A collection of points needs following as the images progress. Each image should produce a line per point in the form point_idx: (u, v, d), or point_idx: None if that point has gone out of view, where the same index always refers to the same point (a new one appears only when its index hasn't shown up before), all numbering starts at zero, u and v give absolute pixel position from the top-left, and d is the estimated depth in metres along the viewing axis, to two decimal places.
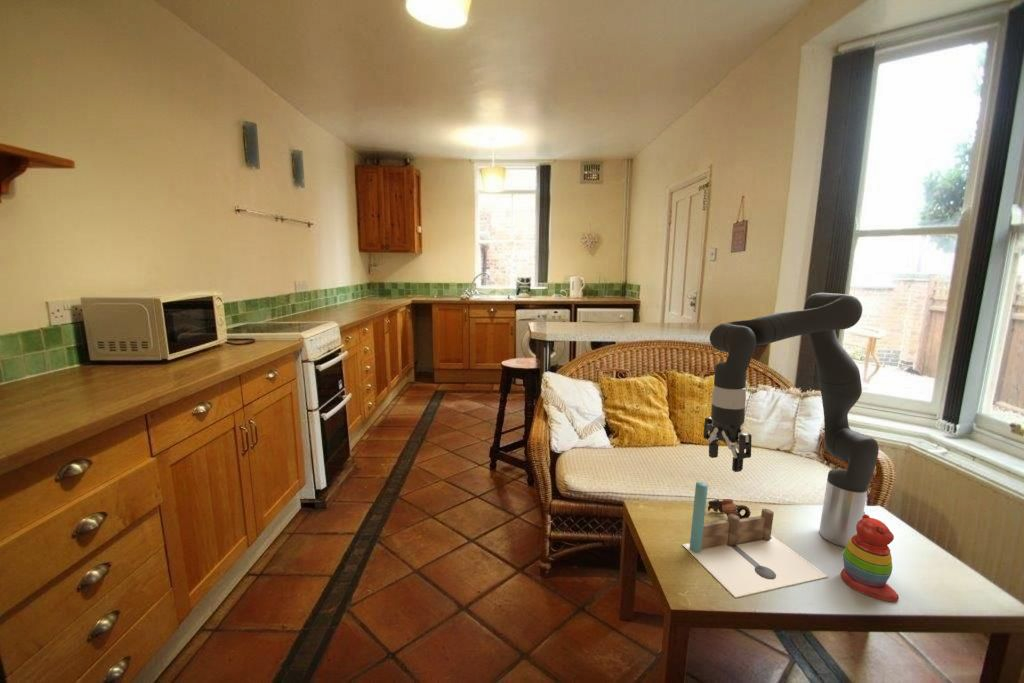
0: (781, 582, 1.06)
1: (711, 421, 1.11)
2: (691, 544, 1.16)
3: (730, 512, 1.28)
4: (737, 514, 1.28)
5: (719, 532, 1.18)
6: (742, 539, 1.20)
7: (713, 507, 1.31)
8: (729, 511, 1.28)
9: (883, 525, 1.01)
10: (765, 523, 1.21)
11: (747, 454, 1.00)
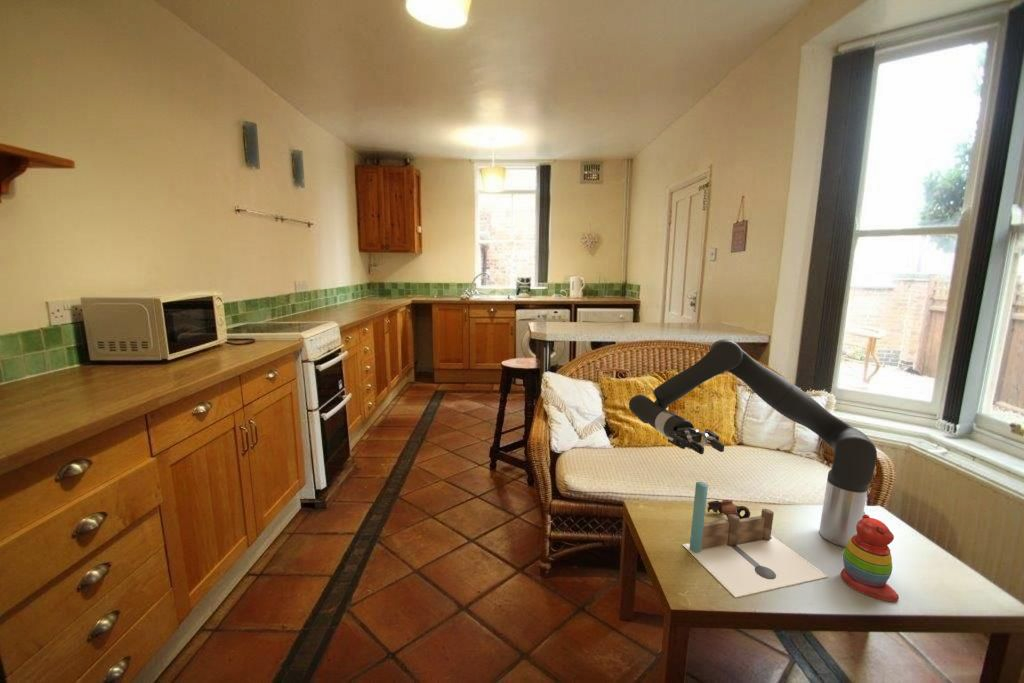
0: (781, 582, 1.06)
1: None
2: (691, 544, 1.16)
3: (730, 513, 1.27)
4: (737, 515, 1.28)
5: (719, 532, 1.18)
6: (742, 539, 1.20)
7: (713, 508, 1.30)
8: (729, 512, 1.27)
9: (883, 525, 1.01)
10: (765, 523, 1.21)
11: (681, 442, 1.14)
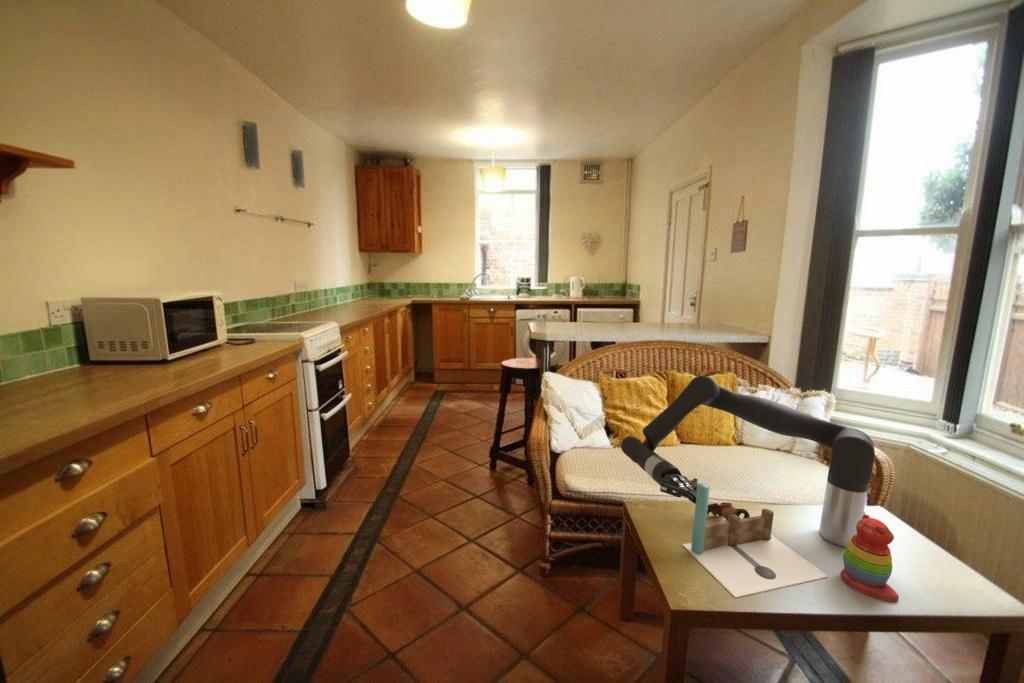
0: (781, 582, 1.06)
1: None
2: (693, 546, 1.16)
3: None
4: None
5: (720, 533, 1.17)
6: (742, 539, 1.20)
7: (712, 511, 1.29)
8: None
9: (883, 525, 1.01)
10: (765, 523, 1.21)
11: (677, 490, 1.20)
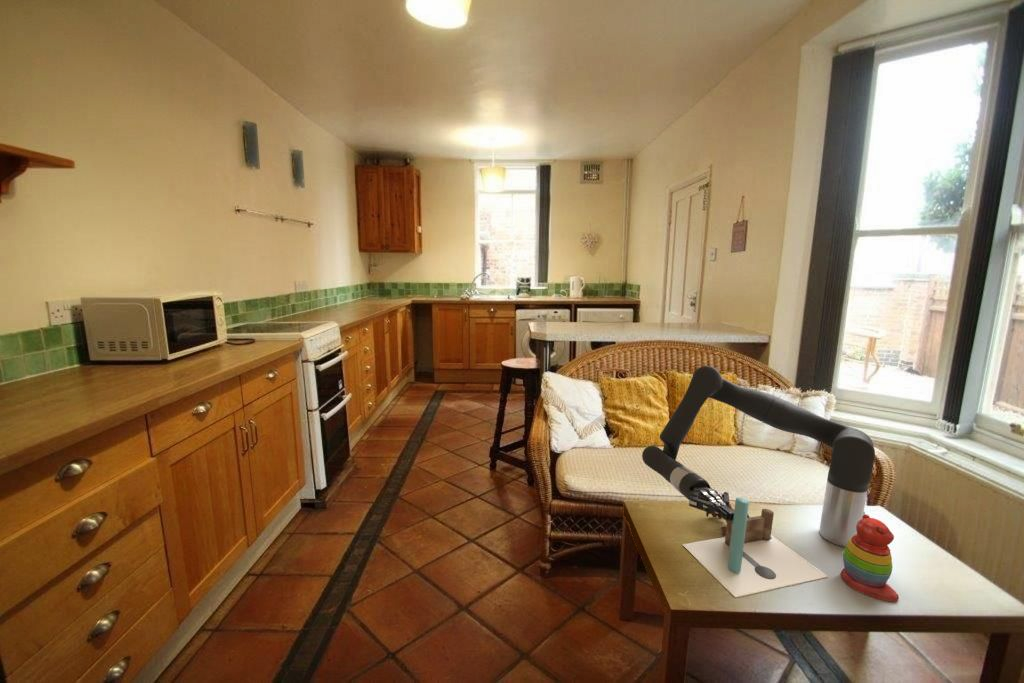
0: (781, 582, 1.06)
1: None
2: (735, 567, 1.08)
3: None
4: None
5: None
6: None
7: (712, 513, 1.28)
8: None
9: (883, 525, 1.01)
10: (765, 523, 1.21)
11: (708, 505, 1.12)
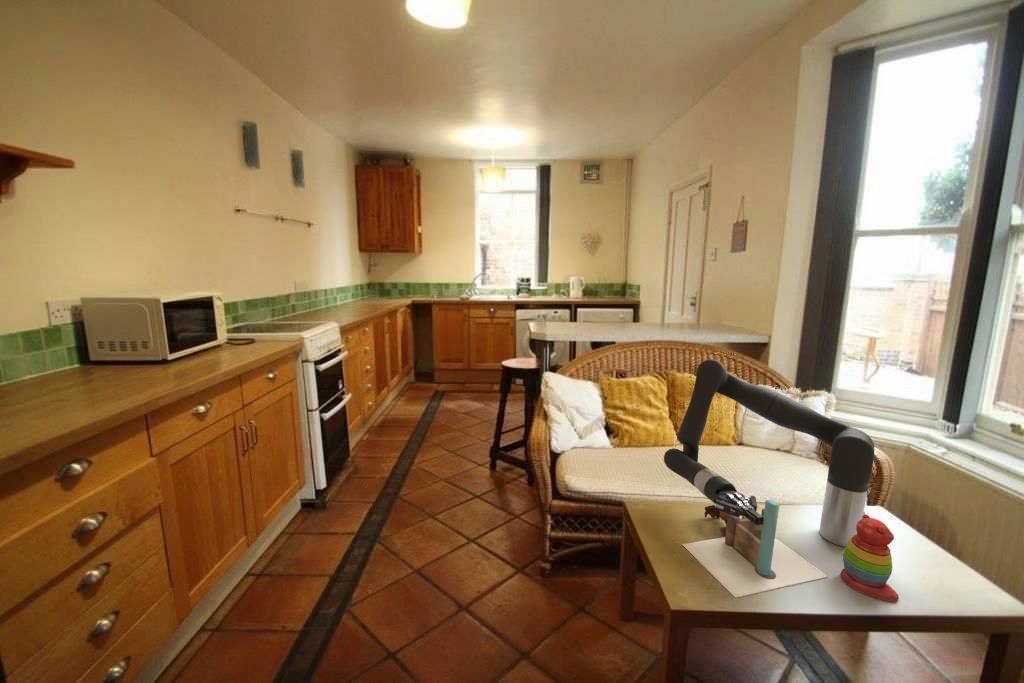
0: (781, 582, 1.06)
1: None
2: (768, 570, 1.07)
3: None
4: None
5: None
6: None
7: (710, 513, 1.27)
8: (727, 517, 1.25)
9: (883, 525, 1.01)
10: None
11: (735, 509, 1.11)
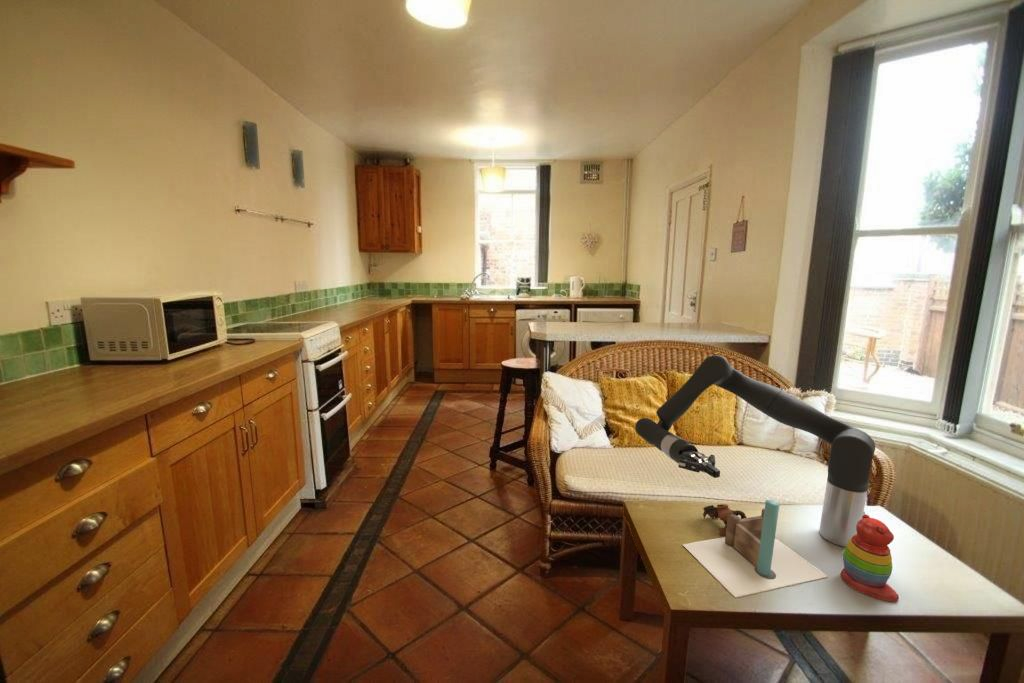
0: (781, 582, 1.06)
1: None
2: (768, 570, 1.07)
3: (727, 518, 1.25)
4: None
5: None
6: None
7: (709, 513, 1.27)
8: (726, 517, 1.25)
9: (883, 525, 1.01)
10: None
11: (695, 466, 1.22)
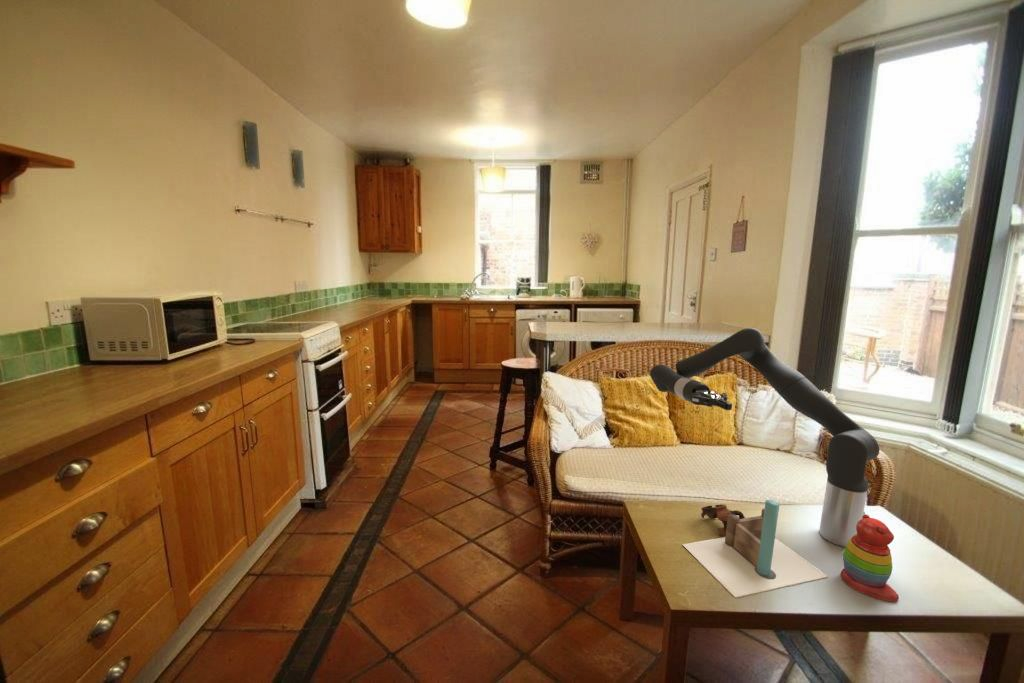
0: (781, 582, 1.06)
1: None
2: (768, 570, 1.07)
3: (725, 518, 1.24)
4: None
5: None
6: None
7: (708, 514, 1.27)
8: (724, 517, 1.25)
9: (883, 525, 1.01)
10: None
11: (708, 400, 1.29)
